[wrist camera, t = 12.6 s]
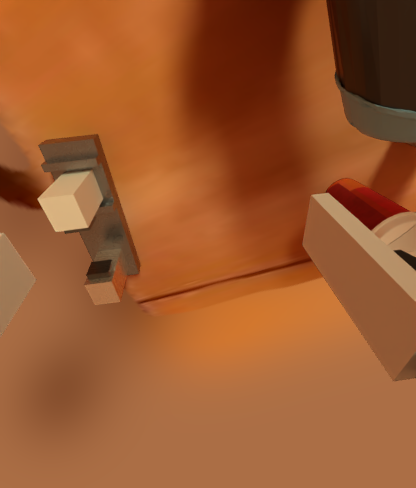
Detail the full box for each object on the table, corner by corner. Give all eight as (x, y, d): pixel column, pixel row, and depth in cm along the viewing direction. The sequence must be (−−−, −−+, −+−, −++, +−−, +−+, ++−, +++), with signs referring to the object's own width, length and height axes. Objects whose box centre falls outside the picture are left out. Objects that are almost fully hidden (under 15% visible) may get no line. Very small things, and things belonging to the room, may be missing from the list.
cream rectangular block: (62, 172, 35) (37, 198, 28) (92, 169, 35) (73, 194, 29) (79, 208, 38) (59, 238, 32) (105, 204, 38) (91, 234, 32)
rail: (46, 140, 34) (4, 166, 26) (97, 134, 35) (72, 158, 26) (104, 269, 49) (89, 313, 40) (140, 264, 49) (133, 307, 41)
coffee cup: (325, 222, 48) (375, 278, 36) (310, 189, 43) (362, 240, 31) (369, 198, 45) (439, 249, 33) (359, 161, 41) (435, 204, 29)
